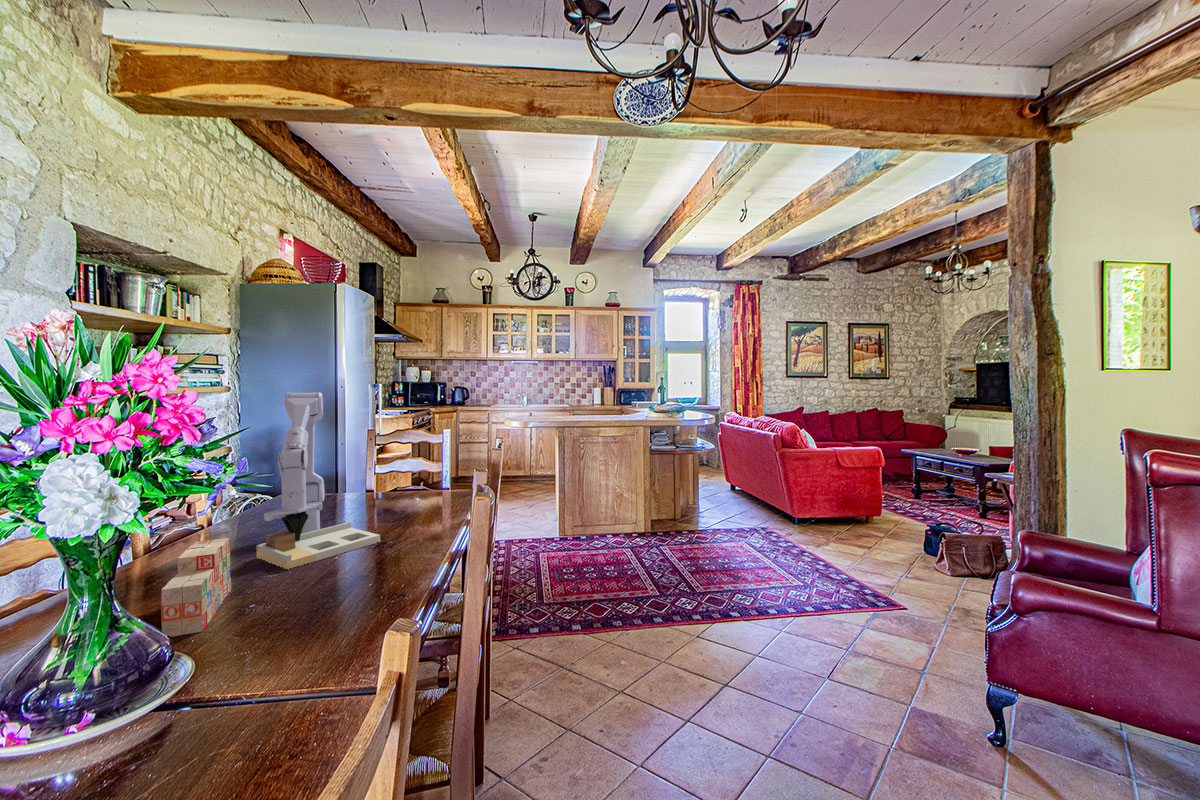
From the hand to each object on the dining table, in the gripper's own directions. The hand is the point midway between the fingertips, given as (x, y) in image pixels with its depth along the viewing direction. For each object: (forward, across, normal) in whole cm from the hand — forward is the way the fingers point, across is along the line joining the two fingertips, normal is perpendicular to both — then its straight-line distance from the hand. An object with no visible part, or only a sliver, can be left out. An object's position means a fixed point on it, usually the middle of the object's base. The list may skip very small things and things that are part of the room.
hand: (295, 540), depth 140 cm
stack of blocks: (+4, -30, -21) cm, 37 cm away
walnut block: (+1, -4, 0) cm, 4 cm away
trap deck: (+3, +5, -4) cm, 7 cm away
